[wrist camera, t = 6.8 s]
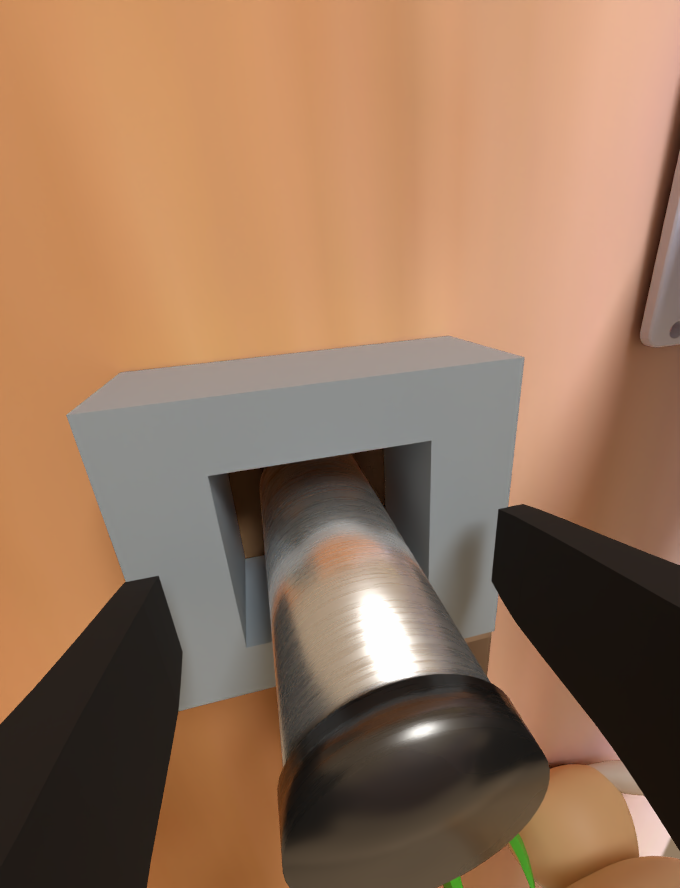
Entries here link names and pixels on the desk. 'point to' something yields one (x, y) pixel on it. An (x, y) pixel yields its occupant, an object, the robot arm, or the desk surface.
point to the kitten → (587, 834)
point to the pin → (379, 700)
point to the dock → (292, 440)
